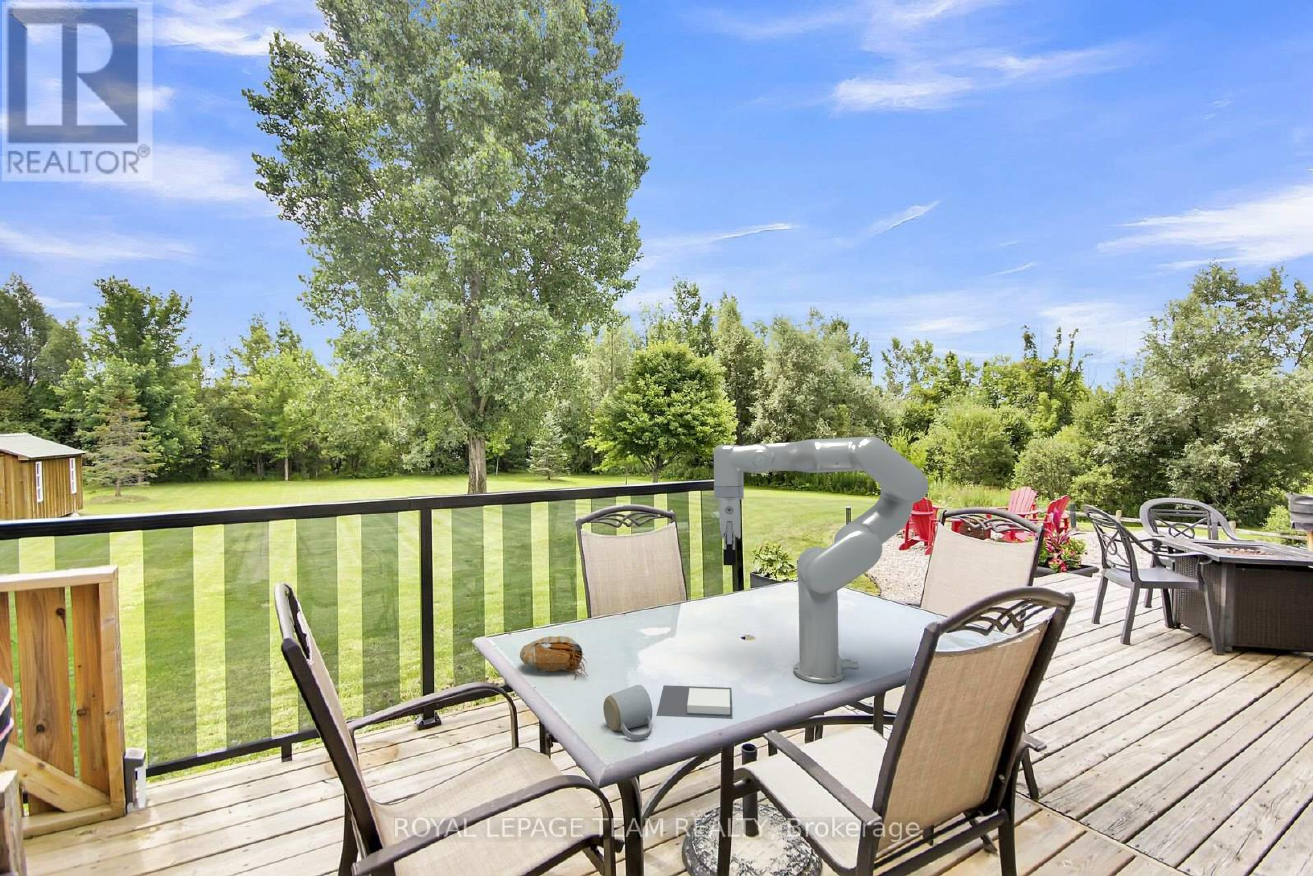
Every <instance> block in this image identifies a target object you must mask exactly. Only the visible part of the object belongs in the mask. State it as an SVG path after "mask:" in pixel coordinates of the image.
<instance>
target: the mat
mask: <svg viewBox="0 0 1313 876" xmlns="http://www.w3.org/2000/svg"><path fill="white" fill-rule="evenodd" d="M689 688H704V689H730V714H729V716H719V715H695V714H688V713H687V703H688V696H689ZM661 690H662V691H661V695H660V698H659V704H658V707H657V711H656V717H675V718H677V717H679V718H681V717H682V718H703V719H704V718H705V719H723V720H724V719H727V720H728V719H729V720H733V717H734V716H733V697H732V696H733V695H732V687H724V686H723V687H722V686H721V687H718V686H696V685H695V686H694V685H693V686H692V685H691V686H690V685H689V686H688V685H668V684H667V685H663V687H662V689H661Z"/></svg>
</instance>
